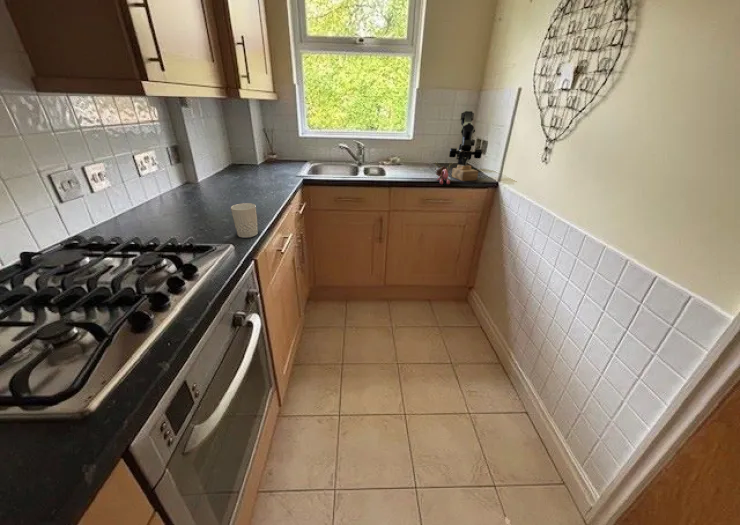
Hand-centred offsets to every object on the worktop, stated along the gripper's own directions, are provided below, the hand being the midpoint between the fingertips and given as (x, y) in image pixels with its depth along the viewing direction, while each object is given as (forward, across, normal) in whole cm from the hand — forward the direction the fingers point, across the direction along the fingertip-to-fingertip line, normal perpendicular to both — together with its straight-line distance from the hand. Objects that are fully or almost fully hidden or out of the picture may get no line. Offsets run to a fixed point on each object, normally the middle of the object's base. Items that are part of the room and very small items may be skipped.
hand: (464, 165), depth 197 cm
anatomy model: (+16, -12, -6) cm, 21 cm away
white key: (+1, 0, +2) cm, 2 cm away
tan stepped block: (+7, +1, +3) cm, 8 cm away
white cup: (+86, -76, -75) cm, 137 cm away
